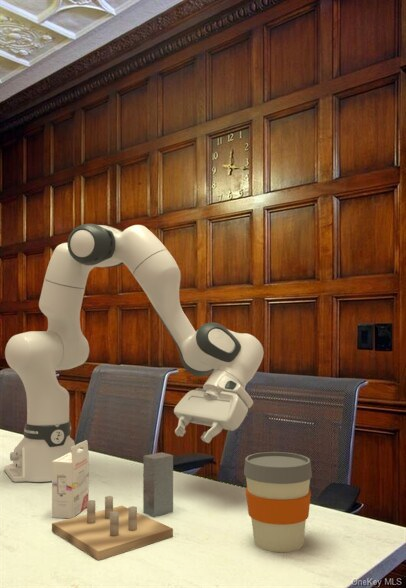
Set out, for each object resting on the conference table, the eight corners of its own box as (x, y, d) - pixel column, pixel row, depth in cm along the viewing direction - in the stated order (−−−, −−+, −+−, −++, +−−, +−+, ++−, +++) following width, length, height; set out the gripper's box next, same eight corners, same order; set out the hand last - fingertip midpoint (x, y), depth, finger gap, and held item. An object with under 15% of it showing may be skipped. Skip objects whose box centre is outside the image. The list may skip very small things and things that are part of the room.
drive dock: (51, 531, 105) (52, 502, 105) (121, 512, 115) (121, 486, 116) (98, 560, 91) (98, 527, 92) (172, 536, 102) (172, 506, 102)
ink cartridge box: (68, 504, 121) (69, 438, 122) (89, 506, 120) (89, 439, 121) (50, 517, 113) (51, 446, 114) (72, 519, 112) (73, 447, 113)
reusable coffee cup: (326, 551, 95) (324, 464, 96) (260, 560, 91) (259, 470, 92) (294, 526, 107) (293, 449, 108) (234, 533, 103) (234, 454, 104)
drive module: (143, 512, 115) (143, 455, 116) (162, 507, 119) (162, 452, 120) (154, 517, 112) (154, 459, 113) (173, 512, 116) (173, 455, 116)
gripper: (187, 379, 136) (156, 423, 129) (245, 385, 121) (213, 435, 114) (200, 395, 139) (170, 439, 132) (258, 403, 123) (228, 453, 116)
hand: (190, 437), depth 123 cm, fingers open, 8 cm apart
